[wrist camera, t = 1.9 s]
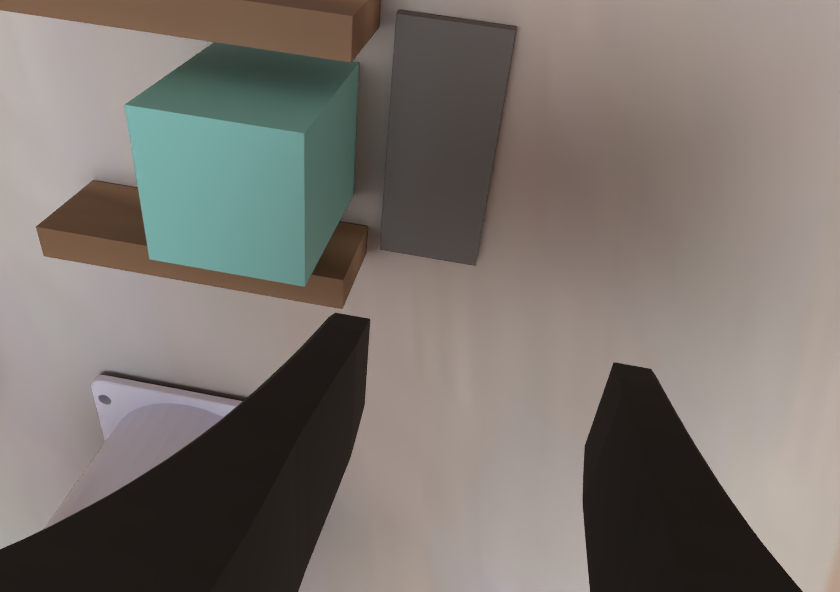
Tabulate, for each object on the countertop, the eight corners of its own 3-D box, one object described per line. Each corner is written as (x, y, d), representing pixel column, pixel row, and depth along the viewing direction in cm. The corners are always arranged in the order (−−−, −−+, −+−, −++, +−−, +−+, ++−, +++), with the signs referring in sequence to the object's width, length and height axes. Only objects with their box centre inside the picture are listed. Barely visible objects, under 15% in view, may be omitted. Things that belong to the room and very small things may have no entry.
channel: (366, 253, 22) (342, 308, 20) (98, 207, 23) (43, 256, 20) (381, -15, 17) (352, 16, 15) (43, -62, 18) (-36, -40, 16)
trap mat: (477, 258, 22) (475, 265, 21) (382, 242, 22) (379, 249, 22) (516, 26, 17) (515, 30, 17) (399, 9, 18) (396, 13, 17)
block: (353, 194, 21) (304, 287, 17) (227, 173, 21) (149, 259, 17) (359, 62, 19) (304, 133, 15) (216, 40, 19) (124, 104, 15)
